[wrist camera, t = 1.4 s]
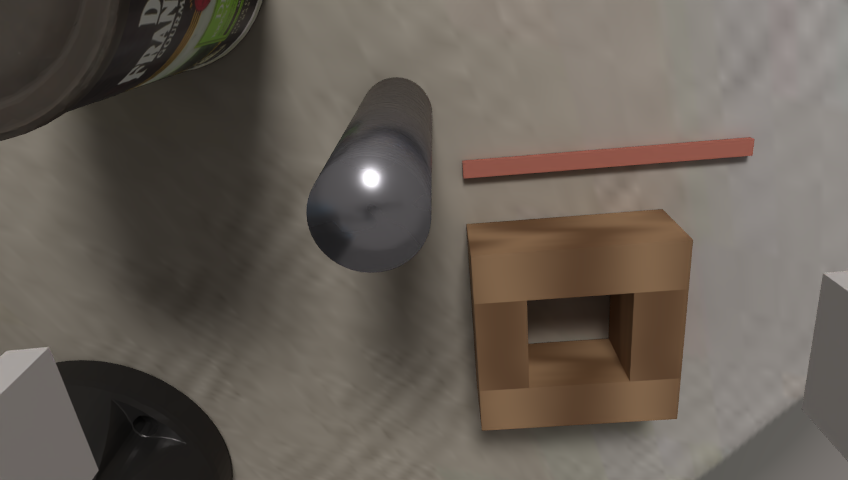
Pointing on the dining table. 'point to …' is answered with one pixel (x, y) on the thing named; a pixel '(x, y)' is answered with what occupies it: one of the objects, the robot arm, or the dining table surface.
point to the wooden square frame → (585, 359)
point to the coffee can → (104, 50)
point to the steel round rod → (377, 182)
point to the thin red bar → (608, 157)
